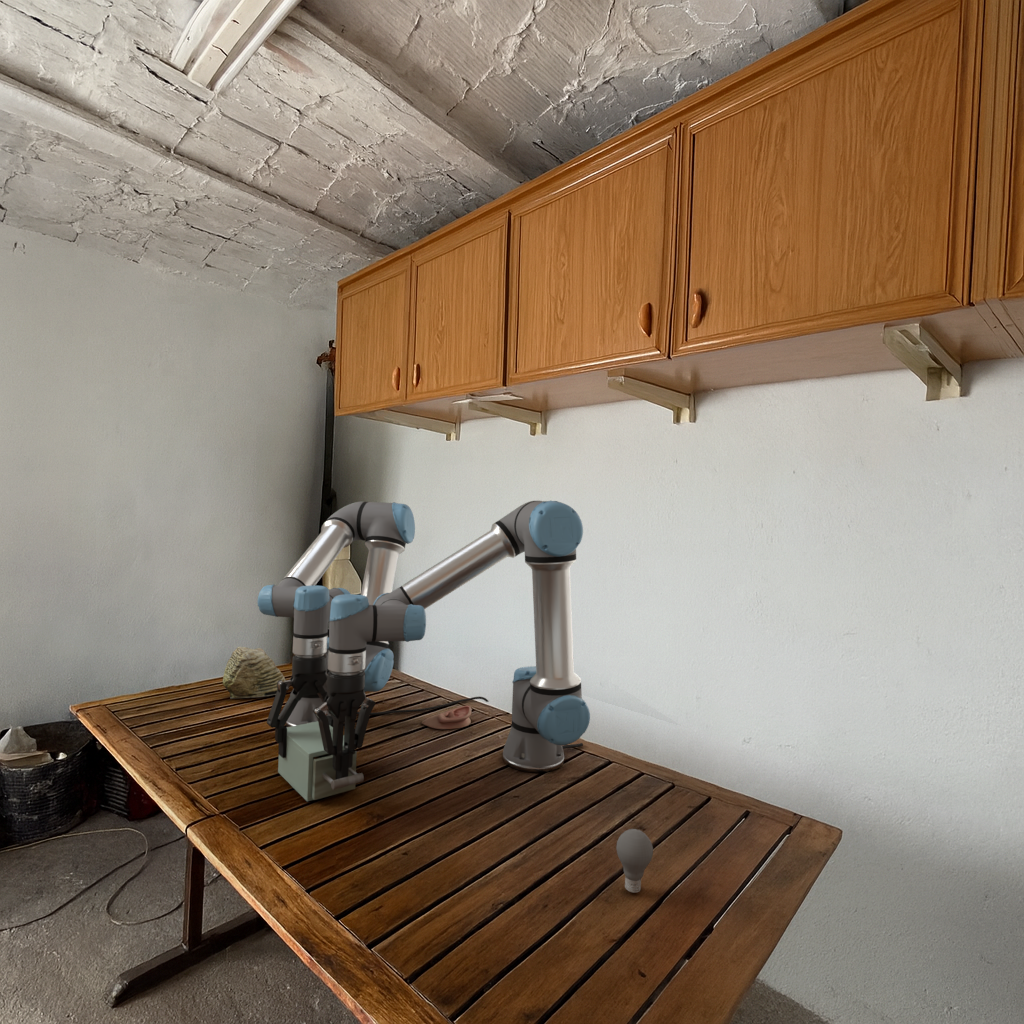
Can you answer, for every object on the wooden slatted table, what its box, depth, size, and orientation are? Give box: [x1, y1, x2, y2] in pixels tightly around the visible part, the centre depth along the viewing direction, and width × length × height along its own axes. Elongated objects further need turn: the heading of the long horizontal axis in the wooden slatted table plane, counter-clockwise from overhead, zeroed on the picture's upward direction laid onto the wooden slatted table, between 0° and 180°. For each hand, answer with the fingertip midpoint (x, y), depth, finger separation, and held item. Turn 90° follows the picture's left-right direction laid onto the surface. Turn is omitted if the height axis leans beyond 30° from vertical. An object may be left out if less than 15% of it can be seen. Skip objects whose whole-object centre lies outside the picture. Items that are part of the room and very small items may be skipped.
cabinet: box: [277, 721, 345, 802], centre depth 141 cm, size 17×10×10 cm, turn 40°
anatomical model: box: [421, 705, 472, 730], centre depth 181 cm, size 13×4×12 cm
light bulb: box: [615, 828, 654, 894], centre depth 106 cm, size 6×6×10 cm
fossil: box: [222, 646, 286, 699], centre depth 198 cm, size 9×18×15 cm, turn 132°
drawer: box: [312, 750, 365, 801], centre depth 137 cm, size 22×9×8 cm, turn 40°
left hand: (306, 750), depth 145 cm, fingers closed on cabinet, 10 cm apart
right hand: (341, 784), depth 131 cm, fingers closed
